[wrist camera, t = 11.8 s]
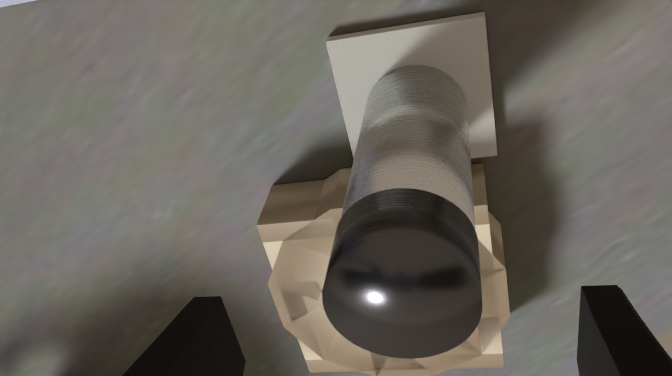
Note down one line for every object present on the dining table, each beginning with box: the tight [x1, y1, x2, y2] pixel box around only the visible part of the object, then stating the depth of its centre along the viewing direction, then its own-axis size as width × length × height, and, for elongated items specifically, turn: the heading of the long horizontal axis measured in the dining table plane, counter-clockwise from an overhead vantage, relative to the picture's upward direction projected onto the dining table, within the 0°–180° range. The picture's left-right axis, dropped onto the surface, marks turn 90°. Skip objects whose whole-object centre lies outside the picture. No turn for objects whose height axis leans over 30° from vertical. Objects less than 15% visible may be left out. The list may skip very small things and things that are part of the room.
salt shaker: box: [322, 65, 482, 359], centre depth 17 cm, size 4×4×9 cm
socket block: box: [257, 163, 510, 376], centre depth 24 cm, size 9×9×2 cm
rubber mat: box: [326, 12, 497, 158], centre depth 21 cm, size 5×5×1 cm
